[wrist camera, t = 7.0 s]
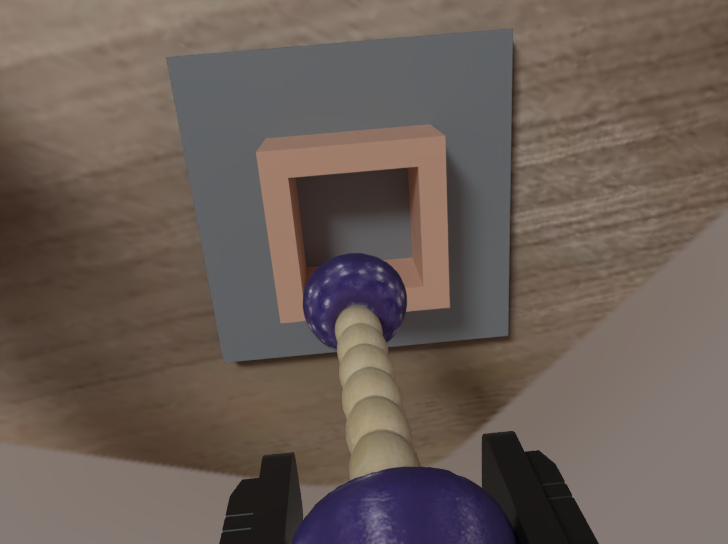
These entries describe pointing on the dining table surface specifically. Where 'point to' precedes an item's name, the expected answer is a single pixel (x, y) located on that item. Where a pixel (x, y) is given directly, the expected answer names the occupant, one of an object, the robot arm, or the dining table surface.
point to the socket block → (351, 180)
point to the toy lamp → (383, 426)
